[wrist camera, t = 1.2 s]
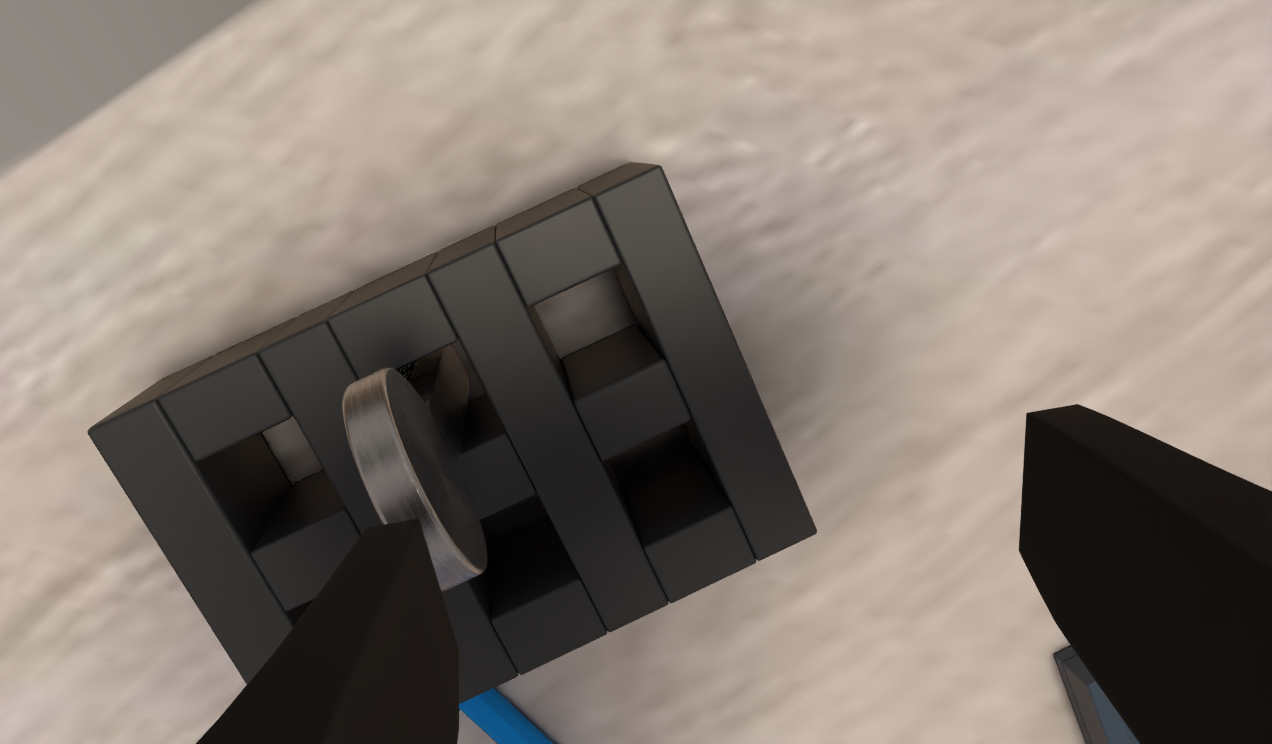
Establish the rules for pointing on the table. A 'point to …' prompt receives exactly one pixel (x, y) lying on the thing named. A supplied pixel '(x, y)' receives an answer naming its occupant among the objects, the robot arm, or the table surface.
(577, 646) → the rack
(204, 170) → the table surface
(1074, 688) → the tray
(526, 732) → the pen
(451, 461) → the spoon
